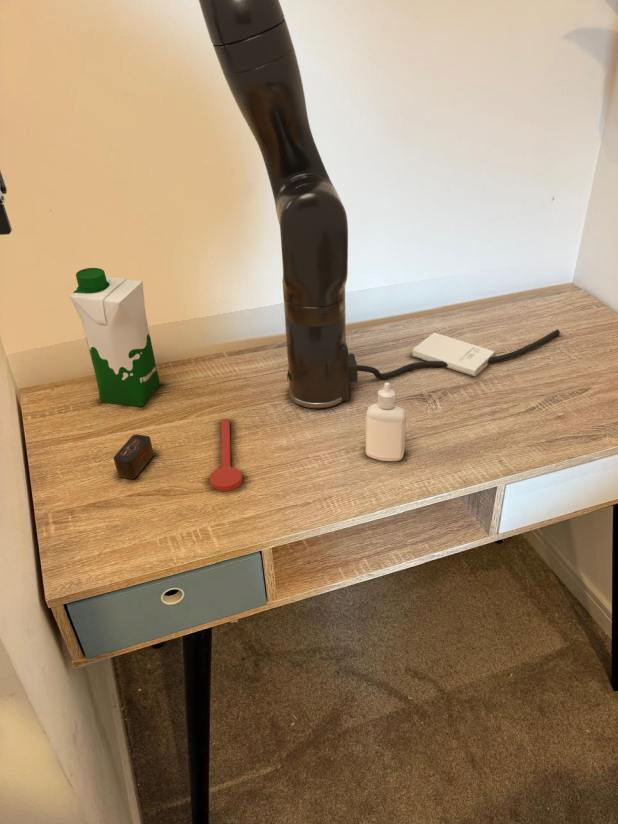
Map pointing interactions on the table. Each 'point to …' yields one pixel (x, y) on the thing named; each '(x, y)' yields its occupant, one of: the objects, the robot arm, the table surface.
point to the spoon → (225, 464)
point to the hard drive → (454, 353)
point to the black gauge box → (133, 456)
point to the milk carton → (117, 336)
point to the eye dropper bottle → (385, 427)
